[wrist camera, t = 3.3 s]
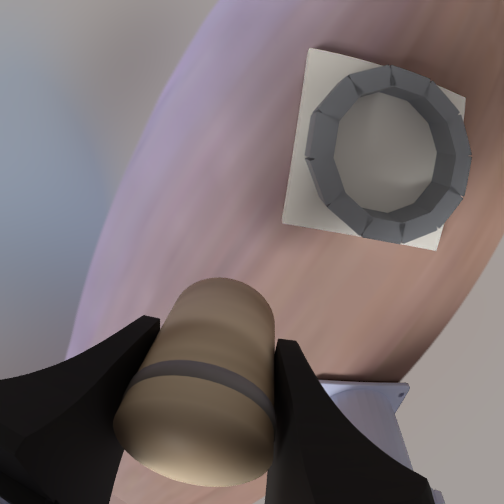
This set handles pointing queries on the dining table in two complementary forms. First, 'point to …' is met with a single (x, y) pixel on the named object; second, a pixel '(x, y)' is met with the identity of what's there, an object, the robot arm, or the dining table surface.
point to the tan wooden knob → (206, 389)
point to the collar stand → (376, 152)
